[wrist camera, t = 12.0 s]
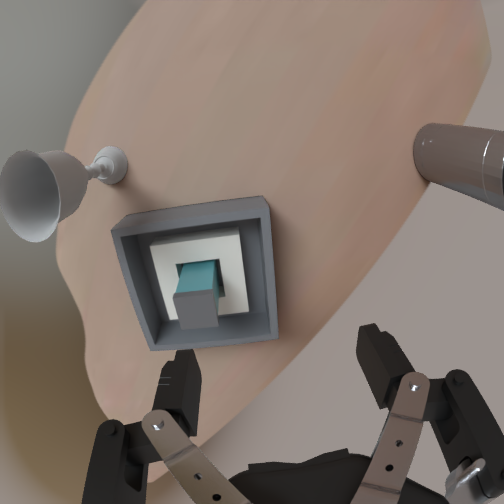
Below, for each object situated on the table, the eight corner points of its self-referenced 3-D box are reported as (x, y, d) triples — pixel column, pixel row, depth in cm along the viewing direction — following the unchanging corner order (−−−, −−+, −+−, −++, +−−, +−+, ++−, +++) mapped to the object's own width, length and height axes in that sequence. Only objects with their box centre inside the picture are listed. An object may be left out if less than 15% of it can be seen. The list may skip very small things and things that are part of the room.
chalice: (79, 155, 31) (-12, 181, 15) (119, 127, 31) (35, 131, 14) (103, 201, 34) (25, 256, 18) (143, 176, 34) (76, 216, 17)
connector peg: (215, 254, 38) (212, 293, 29) (220, 281, 40) (218, 326, 30) (184, 258, 38) (172, 298, 29) (190, 285, 39) (181, 329, 30)
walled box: (262, 195, 36) (269, 207, 30) (272, 313, 43) (278, 338, 38) (126, 215, 35) (110, 229, 30) (157, 325, 43) (150, 351, 37)
